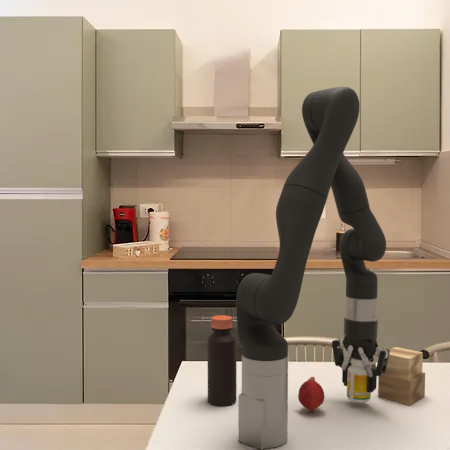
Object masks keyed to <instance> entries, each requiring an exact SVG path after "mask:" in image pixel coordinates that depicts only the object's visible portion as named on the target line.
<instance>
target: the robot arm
mask: <svg viewBox="0 0 450 450" xmlns="http://www.w3.org/2000/svg"><path fill="white" fill-rule="evenodd" d="M357 94H358V93H357V92H356V91H355V90H354V89H353V88H351V87H349V86H348V87H347V86H336V87H330V88H326V89H320V90H317V91H312V92H310V93H308V94H307V95H306V96H305V97H304V99H303V102H302V105H301V115H302V120H303V124H304V126H305V128H306V131H307V133H308V135H309V137H310V139H311V142H312V144H313V146H312V147H311V148H310V149H309V151H308V152H307V153H306V154H305V155H304V157H303V158H301V160H300V161H299V162H298V163H297V164H296V166H295V167H294V168H293V169H292V170H291V172H290V173H289V175H288V176H287V178H286V179H285V182H284V184H283V187H282V190H281V192H280V195H279V198H278V202H277V204H276V207H275V208H276V209H275V220H276V227H277V232H278V233H277V234H278V239H279V248H278V249H279V250H278V254H277V259H276V262H275V265H274V267H273V270H272V273H271V274H267V273H260V272H252V273H249V274H247V275H246V276H244V277H243V278H242V280H241V281H240V283H239V284H238V285H239V286H238V288H237V292H236V299H235V300H236V301H235V302H236V303H235V307H236V308H235V309H236V310H235V311H236V331H237V339H238V342H239V344H240V347H241V393H239V394H238V441H239V442H241V443H243V444H245V445H249V446H251V447H254V448H256V449H259V450H265V449H269V448H276V447H280V446H282V445H284V444H285V443H286V442H287V441H288V424H289V423H288V422H289V421H288V418H289V416H288V412H289V410H288V409H289V408H288V407H289V406H288V404H289V403H288V402H289V401H288V399H289V395H288V394H289V393H288V392H289V391H288V390H289V387H288V386H289V377H288V376H289V343H288V341H287V339H286V338H285V337H284V336H283V335H281V333H280V332H279V331H278V330H277V328H276V326H275V325H283V324H285V323H286V322H287V321H289V320H290V318H291V317H292V316H293V314H294V312H295V310H296V307H297V305H298V302H299V297H300V295H301V294H300V292H301V289H302V284H303V279H304V275H305V271H306V266H307V263H308V259H309V255H310V252H311V248H312V245H313V241H314V239H315V234H316V231H317V229H318V225H319V222H320V220H321V218H322V215H323V212H324V209H325V206H326V203H327V200H328V196H329V193H330V190H332V195H333V198H334V203H335V206H336V211H337V214H338V216H339V219H340V221H341V222H342V223H343V224H345V225H348V226H350V227H351V228H349V229H347V230H345V232H344V233H343V234H342V236H341V237H340V241H339V253H340V254H339V255H340V258H341V262H342V263H341V264H342V267H343V271H344V275H345V279H346V280H345V300H344V305H343V306H344V308H343V313H344V314H343V315H344V316H343V335H344V337H343V339H341V338H337V339H335V340H332V342H331V345H332V347H331V348H332V351H333V352H332V353H333V359H334V365H335V366H336V367H339V368H341V371H342V373H341V374H342V375H341V376H342V377H341V378H342V384H343V386H344V387H347V372H348V367H349V366H351V365H352V364H351V358H354V359H359V360H362V361H363V364H364V367H366V369H367V373H368V375H369V376H368V377H367V392H369V393H371V394H372V393H373V392H374V391H375V390H376V389H377V386H378V384H377V383H378V381H377V379H378V376H380V375H382V374H384V373H385V371H386V367H387V362H388V358H389V354H390V351H389V349H388V348H382V347H379V344H378V341H377V339H378V323H379V321H378V319H379V305H378V275H377V274H376V273H375V272H374V271H371V270H369V269H368V268H367V267H366V264H365V262H371V263H372V262H378V261H380V260H381V259H383V258H384V255H385V254H386V250H387V241H386V237H385V234H384V231H383V229H382V228H381V226H380V224H379V222H378V221H377V218H376V217H375V215H374V213H373V211H372V210H371V206H370V202H369V198H368V195H367V190H366V187H365V184H364V182H363V180H362V177H361V176H360V173H358V171H357V170H356V169H355V167H354V166H353V164H351V162H350V161H349V159H348V158H347V157H346V155H345V154H344V151H345V149H346V147H347V145H348V143H349V141H350V139H351V137H352V134H353V132H354V129H355V127H356V125H357V123H358V119H359V115H360V108H361V105H360V100H359V97H358V95H357ZM344 349H345V350H346V353H345V354H344ZM375 353H376V357H377V358H378V360H377V361H376V358H375ZM368 360H369V361H368Z"/></svg>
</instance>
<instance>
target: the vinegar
mask: <svg viewBox="0 0 450 450" xmlns="http://www.w3.org/2000/svg"><path fill="white" fill-rule="evenodd" d="M210 319H211V321H210V322H211V325H210V326H211V331H212V333H211V334H210V335H209V337H208V338H207V401H208V403H210V405H212V406H217V407H226V406H231V405H234V404H235V403H236V402H237V338H236V336H235V335H234V334H233V333H232V330H233V316H230V315H213V316H212V317H211V318H210Z"/></svg>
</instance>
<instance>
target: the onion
mask: <svg viewBox="0 0 450 450" xmlns="http://www.w3.org/2000/svg"><path fill="white" fill-rule="evenodd" d="M297 397H298V401H299V403H300V405H302V406H303V408H304V409H306V410H308V411H309V412H311V413H312V412H315V411H316V410H317V409H319V408H320V407H321V406H322V405H323V404H324V402H325V392H324V389H323V386H322V385H321V384H320V383H318V381H316V377H315V376H311V377H309V378H308V379H307V380H306V381H304V382H303V383H302V384H301V385H300V387H299V390H298V395H297Z"/></svg>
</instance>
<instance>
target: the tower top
mask: <svg viewBox="0 0 450 450" xmlns="http://www.w3.org/2000/svg"><path fill="white" fill-rule="evenodd" d="M388 350H389V351H390V354H389V358H388V362H387V367H386V371H385V373H384V374H386V375H390V376H394V377H398V378H402V379H406V380H410V379H412V378H414V377H416V376H417V375H419V374H421V373H422V372H423V355H424V354H423V353H424V352H422V351H418V350H417V351H416V350H412V349H408V348H403V347H399V346H398V347H397V346H395V347H392V348H390V349H388Z"/></svg>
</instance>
